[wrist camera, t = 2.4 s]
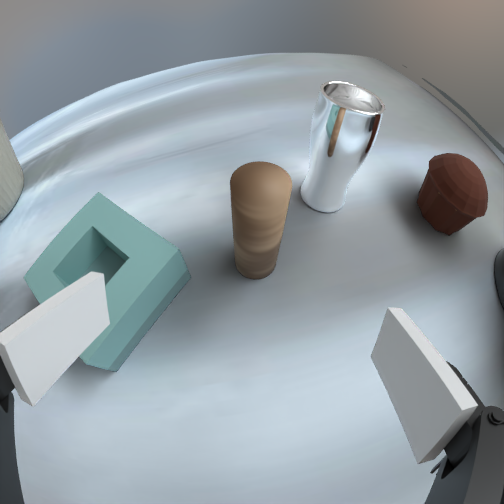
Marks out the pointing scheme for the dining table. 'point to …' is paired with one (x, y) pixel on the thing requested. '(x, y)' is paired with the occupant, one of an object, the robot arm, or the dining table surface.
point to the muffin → (452, 193)
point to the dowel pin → (258, 216)
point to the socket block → (112, 274)
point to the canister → (8, 175)
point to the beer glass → (339, 142)
